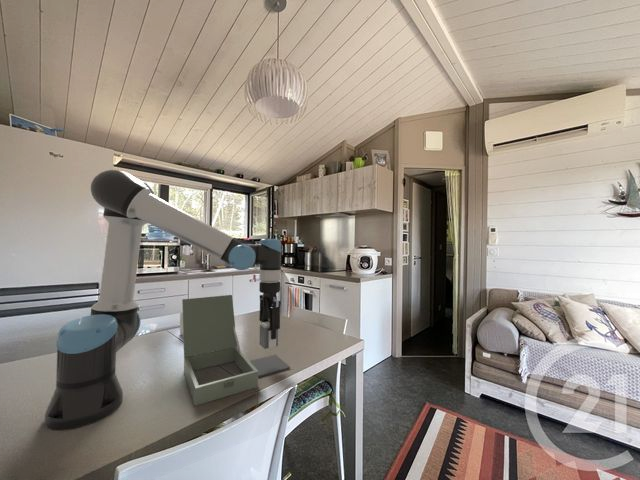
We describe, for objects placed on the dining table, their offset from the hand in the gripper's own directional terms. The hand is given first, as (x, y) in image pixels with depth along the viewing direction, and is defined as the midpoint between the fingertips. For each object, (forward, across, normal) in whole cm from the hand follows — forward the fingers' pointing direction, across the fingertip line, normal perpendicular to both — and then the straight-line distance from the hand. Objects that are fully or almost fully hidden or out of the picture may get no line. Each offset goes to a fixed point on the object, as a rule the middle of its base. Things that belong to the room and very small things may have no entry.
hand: (268, 344), depth 96 cm
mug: (+8, +49, +17) cm, 53 cm away
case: (+8, +4, +17) cm, 19 cm away
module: (0, 0, 0) cm, 0 cm away
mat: (+8, 0, 0) cm, 8 cm away
